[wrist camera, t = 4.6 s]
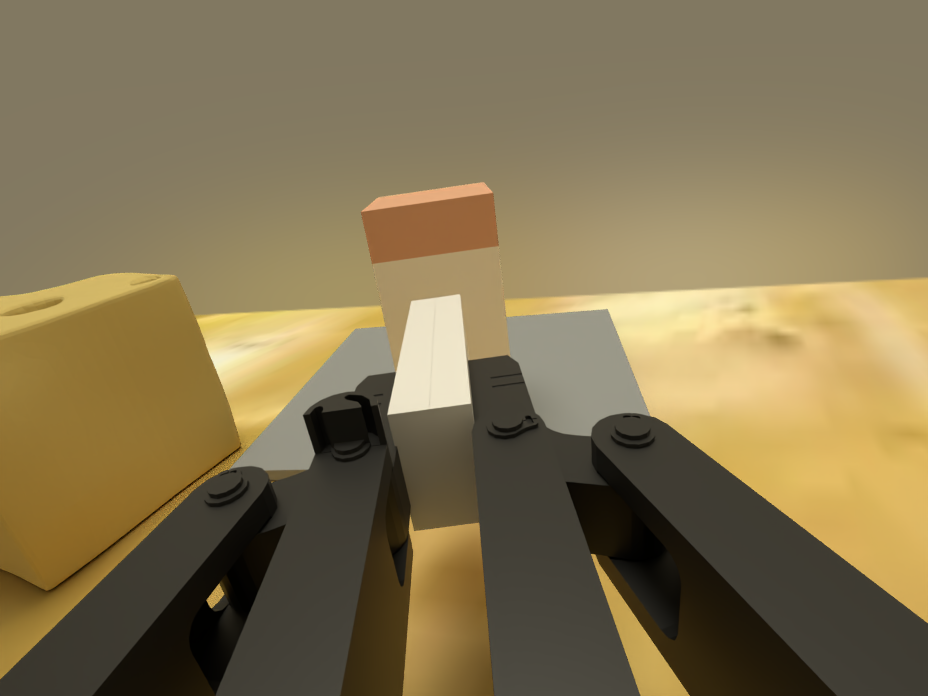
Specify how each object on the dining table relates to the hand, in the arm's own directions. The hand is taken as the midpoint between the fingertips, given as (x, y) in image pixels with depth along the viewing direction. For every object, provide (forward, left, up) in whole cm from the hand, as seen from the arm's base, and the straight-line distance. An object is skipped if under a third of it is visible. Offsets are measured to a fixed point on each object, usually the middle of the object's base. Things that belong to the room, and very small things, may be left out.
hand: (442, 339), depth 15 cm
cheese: (-19, +3, -8) cm, 21 cm away
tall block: (-1, +7, -7) cm, 10 cm away
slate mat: (-2, +12, -8) cm, 15 cm away
